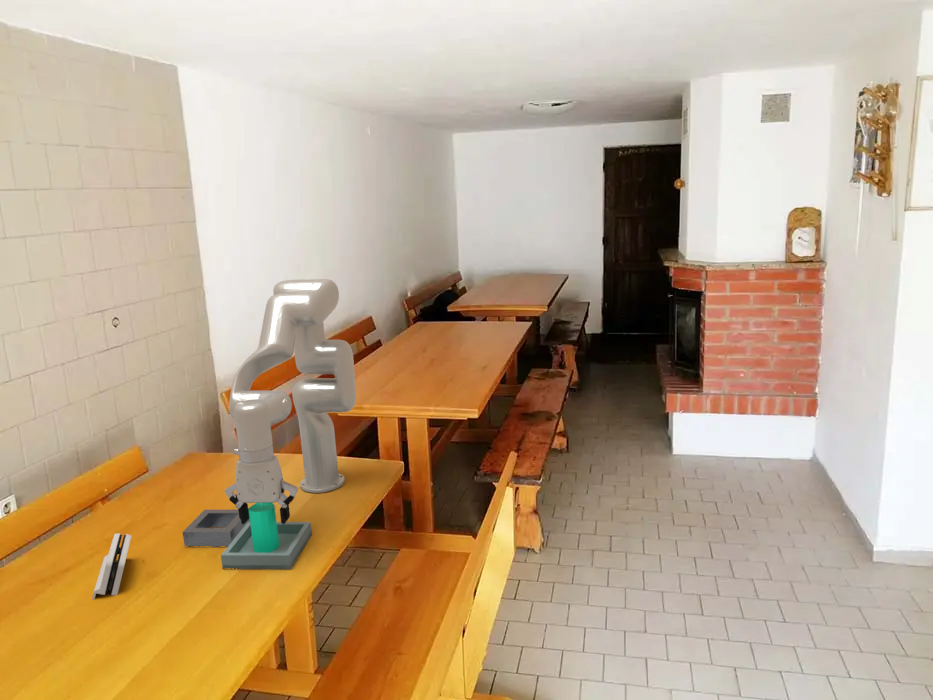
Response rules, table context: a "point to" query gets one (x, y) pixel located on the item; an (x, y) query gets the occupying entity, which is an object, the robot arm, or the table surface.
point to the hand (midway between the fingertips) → (265, 521)
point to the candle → (263, 527)
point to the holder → (206, 536)
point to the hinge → (113, 566)
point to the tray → (283, 557)
